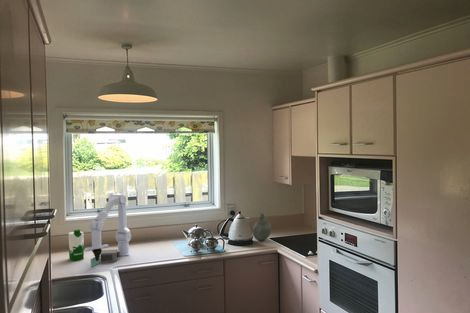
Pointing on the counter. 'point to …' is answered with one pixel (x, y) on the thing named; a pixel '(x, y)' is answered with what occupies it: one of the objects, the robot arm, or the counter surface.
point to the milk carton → (76, 245)
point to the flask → (261, 229)
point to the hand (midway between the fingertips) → (97, 260)
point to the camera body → (109, 255)
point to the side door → (94, 261)
